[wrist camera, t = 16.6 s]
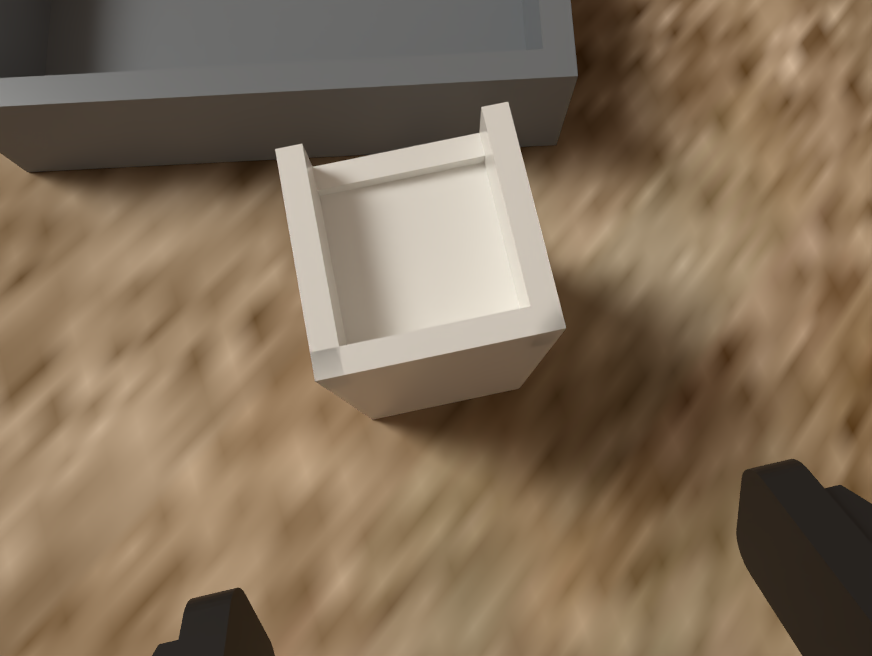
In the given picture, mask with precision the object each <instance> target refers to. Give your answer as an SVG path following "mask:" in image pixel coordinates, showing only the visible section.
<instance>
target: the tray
mask: <svg viewBox="0 0 872 656" xmlns="http://www.w3.org/2000/svg"><path fill="white" fill-rule="evenodd" d="M577 78H578V71H577V61H576V51H575V40H574V30H573V20H572V10H571V0H0V153H1V154H3V155H4V156H5V157H7V158H8V159H10V160H11V161H12V162H14V163H15V164H17V165H18V166H19V167H21V168H22V169H24V170H25V171H27V172H40V171H60V170H79V169H99V168H118V167H138V166H157V165H177V164H196V163H215V162H235V161H254V160H274V159H277V157H276V152H275V149H278V148H283V147H288V146H293V145H298V144H303V147H304V149H305V151H306V153H307V155H308V158H313V157H332V156H352V155H371V154H378V153H383V152H388V151H393V150H398V149H403V148H408V147H413V146H417V145H422V144H427V143H432V142H437V141H442V140H447V139H452V138H457V137H461V136H466V135H471V134H476V133H479V131H480V118H481V107H484V106H489V105H494V104H499V103H504V102H508V103H509V107H510V111H511V115H512V119H513V123H514V126H515V130H516V134H517V138H518V142H519V146H520V147H526V146H546V145H556V144H557V141H558V138H559V135H560V132H561V129H562V125H563V122H564V119H565V116H566V113H567V109H568V106H569V103H570V100H571V97H572V93H573V90H574V87H575V84H576V81H577Z"/></svg>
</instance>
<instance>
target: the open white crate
mask: <svg viewBox="0 0 872 656" xmlns="http://www.w3.org/2000/svg"><path fill="white" fill-rule="evenodd" d="M275 152H276V157H277V163H278V169H279V175H280V181H281V186H282V192H283V198H284V204H285V210H286V215H287V221H288V227H289V233H290V239H291V244H292V250H293V256H294V262H295V268H296V273H297V279H298V285H299V291H300V297H301V302H302V308H303V314H304V320H305V326H306V331H307V337H308V343H309V349H310V355H311V360H312V366H313V372H314V378H315V381H316V382H317V383H319V384H320V385H321V386H323V387H324V388H326V389H327V390H329V391H330V392H332V393H333V394H335V395H336V396H338V397H339V398H341V399H342V400H344V401H345V402H347V403H348V404H350V405H351V406H353V407H354V408H356V409H357V410H359V411H360V412H362V413H363V414H365V415H366V416H368V417H369V418H371V419H372V420H374V419H378V418H383V417H388V416H393V415H397V414H402V413H407V412H411V411H416V410H421V409H425V408H430V407H435V406H440V405H444V404H449V403H454V402H458V401H463V400H468V399H473V398H477V397H482V396H487V395H491V394H496V393H501V392H505V391H510V390H515V389H519V388H520V387H521V386H522V384H523V383H524V382H525V381H526V379H527V378H528V377H529V375H530V374H531V373H532V372H533V370H534V369H535V368H536V366H537V365H538V364H539V363H540V361H541V360H542V359H543V357H544V356H545V355H546V354H547V352H548V351H549V350H550V348H551V347H552V346H553V345H554V343H555V342H556V341H557V339H558V338H559V337H560V336H561V334H562V333H563V332H564V331H565V329H566V325H565V321H564V317H563V313H562V309H561V306H560V302H559V298H558V294H557V290H556V286H555V282H554V278H553V274H552V271H551V267H550V263H549V259H548V255H547V251H546V247H545V243H544V239H543V236H542V232H541V228H540V224H539V220H538V216H537V212H536V208H535V204H534V200H533V197H532V193H531V189H530V185H529V181H528V177H527V173H526V169H525V165H524V162H523V158H522V154H521V150H520V146H519V142H518V138H517V134H516V130H515V126H514V123H513V119H512V115H511V111H510V107H509V103H508V102H504V103H499V104H494V105H489V106H484V107H481V118H480V131H479V133H476V134H471V135H466V136H461V137H457V138H452V139H447V140H442V141H437V142H432V143H427V144H422V145H417V146H413V147H408V148H403V149H398V150H393V151H388V152H383V153H378V154H373V155H368V156H364V157H359V158H354V159H349V160H344V161H339V162H334V163H329V164H324V165H320V166H315V167H313V166H312V164H311V162H310V160H309V158H308V155H307V153H306V151H305V149H304V147H303V144H298V145H293V146H288V147H283V148H278V149H275Z"/></svg>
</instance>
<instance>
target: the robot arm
mask: <svg viewBox="0 0 872 656" xmlns="http://www.w3.org/2000/svg"><path fill="white" fill-rule="evenodd" d="M736 535H737V542H738V547H739V550H740V553H741V556H742V559H743V561H744V563H745V565H746V567H747V569H748V571H749V573H750V574H751V576H752V577H753V579H754V581H755V582H756V584H757V585H758V587H759V588H760V590H761V592H762V593H763V595H764V596H765V598H766V599H767V601H768V603H769V604H770V606H771V607H772V609H773V610H774V612H775V613H776V615H777V617H778V618H779V620H780V621H781V623H782V624H783V626H784V628H785V629H786V631H787V632H788V634H789V635H790V637H791V638H792V640H793V642H794V643H795V645H796V646H797V648H798V649H799V651H800V653H801V654H802V656H872V504H871V503H870V502H868V501H866V500H865V499H863V498H861V497H860V496H858V495H856V494H855V493H853V492H852V491H850V490H848V489H847V488H845V487H843V486H842V485H837V486H833V487H829V488H825V489H824V487H823V486H822V485H821V484H820V483H819V482H818V480H817V479H816V478H815V477H814V476H813V475H812V473H811V472H810V471H809V470H808V469H807V468H806V467H805V466H804V465H803V464H802V463H801V462H799V461H798V460H795V459H789V460H785V461H781V462H776V463H772V464H768V465H764V466H759V467H755V468H751V469H747V470H745V471H744V472H743V475H742V481H741V491H740V501H739V511H738V520H737V531H736ZM152 656H275V655H274V651H273V647H272V644H271V642H270V639H269V638H268V636H267V634H266V632H265V630H264V628H263V626H262V624H261V623H260V621H259V619H258V617H257V615H256V613H255V611H254V610H253V608H252V606H251V604H250V602H249V600H248V598H247V596H246V595H245V593H244V591H243V590H242V589H241V588H234V589H230V590H226V591H222V592H217V593H213V594H209V595H205V596H200V597H196V598H192V599H190V600H189V601H188V603H187V605H186V607H185V610H184V614H183V619H182V625H181V630H180V635H179V640H176V641H172V642H167V643H163V644H159V645H158V647H157V648H156V650H155V652H154V653H153V655H152Z"/></svg>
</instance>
